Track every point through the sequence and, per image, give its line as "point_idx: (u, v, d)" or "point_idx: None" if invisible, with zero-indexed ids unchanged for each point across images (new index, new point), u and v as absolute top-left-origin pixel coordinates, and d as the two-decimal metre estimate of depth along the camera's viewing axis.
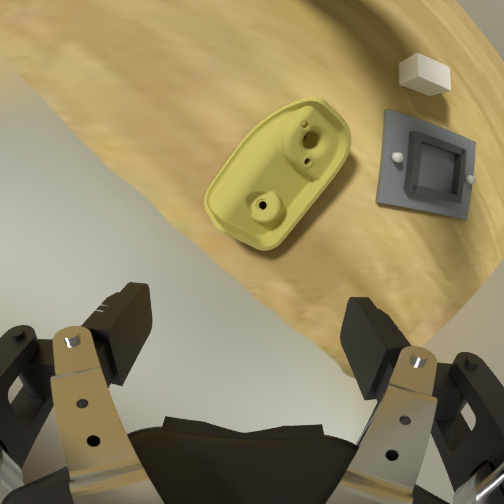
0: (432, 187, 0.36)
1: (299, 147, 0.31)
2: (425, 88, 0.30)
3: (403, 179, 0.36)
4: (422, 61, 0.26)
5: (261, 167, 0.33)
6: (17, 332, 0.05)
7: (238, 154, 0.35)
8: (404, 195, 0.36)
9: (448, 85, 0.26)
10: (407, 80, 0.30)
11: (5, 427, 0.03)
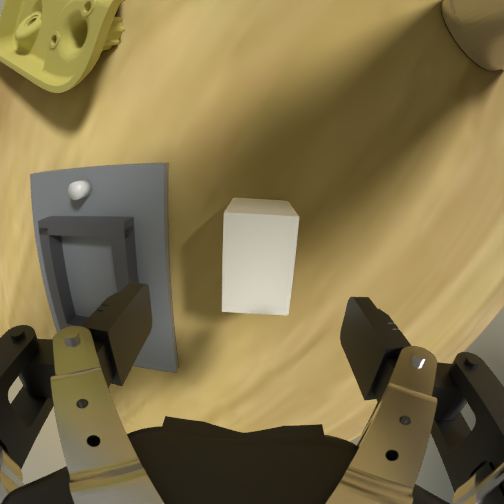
0: (69, 275, 0.22)
1: (66, 18, 0.11)
2: None
3: (61, 213, 0.20)
4: (276, 231, 0.15)
5: None
6: (17, 332, 0.05)
7: None
8: None
9: (233, 306, 0.17)
10: (232, 203, 0.18)
11: (5, 427, 0.03)
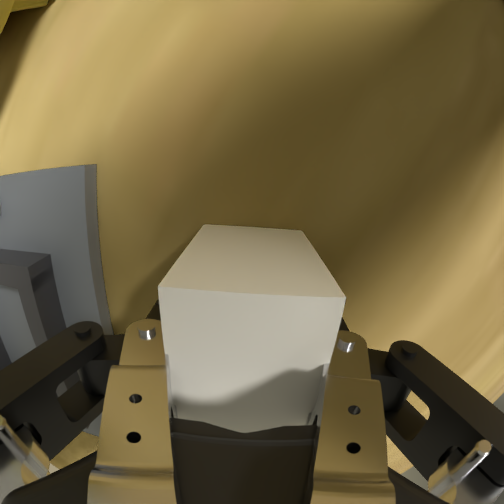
0: None
1: None
2: None
3: None
4: (289, 330, 0.06)
5: None
6: (82, 329, 0.06)
7: None
8: None
9: None
10: (194, 243, 0.09)
11: (45, 419, 0.04)
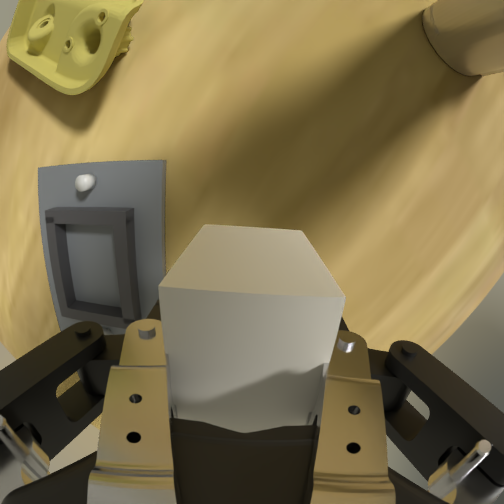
0: (71, 262, 0.24)
1: (80, 25, 0.13)
2: None
3: (66, 204, 0.22)
4: (289, 330, 0.06)
5: (73, 1, 0.13)
6: (82, 329, 0.06)
7: None
8: None
9: None
10: (194, 243, 0.09)
11: (45, 419, 0.04)
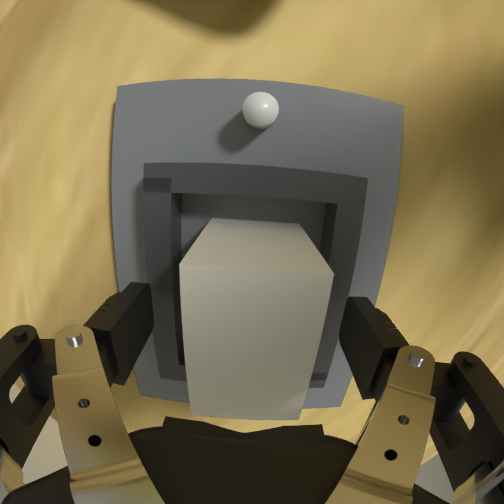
0: None
1: None
2: None
3: (190, 156, 0.12)
4: (287, 301, 0.07)
5: None
6: (19, 332, 0.05)
7: None
8: (142, 169, 0.12)
9: (208, 409, 0.09)
10: (205, 233, 0.10)
11: (6, 427, 0.04)
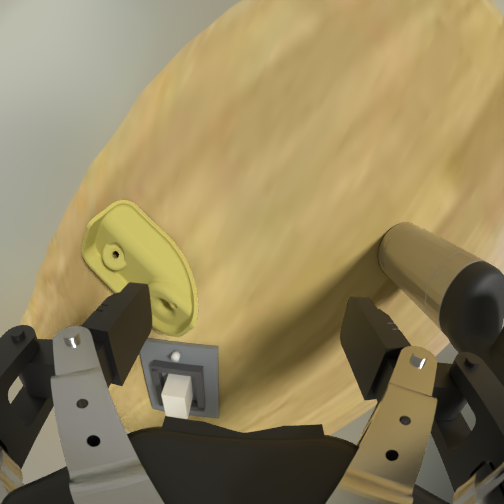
0: (164, 382, 0.47)
1: (157, 296, 0.37)
2: None
3: (161, 359, 0.45)
4: (178, 400, 0.40)
5: (141, 261, 0.36)
6: (17, 332, 0.05)
7: (160, 236, 0.38)
8: (150, 360, 0.45)
9: (169, 415, 0.42)
10: (166, 381, 0.43)
11: (5, 427, 0.03)
